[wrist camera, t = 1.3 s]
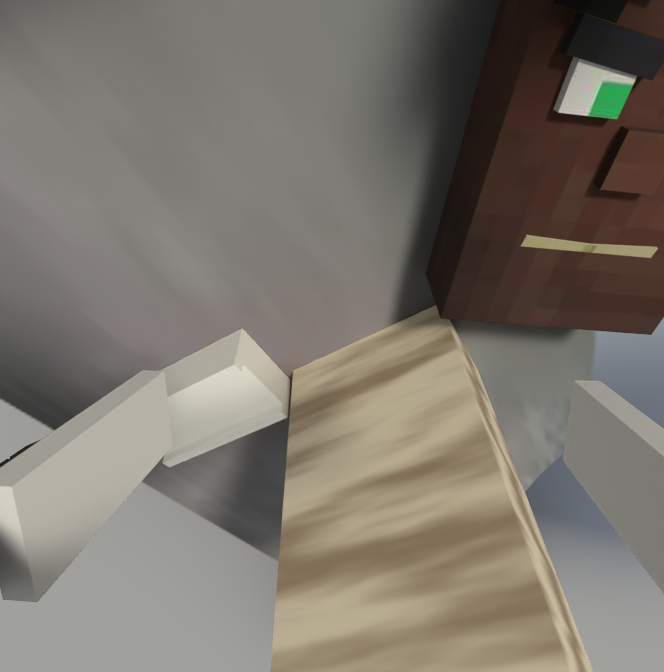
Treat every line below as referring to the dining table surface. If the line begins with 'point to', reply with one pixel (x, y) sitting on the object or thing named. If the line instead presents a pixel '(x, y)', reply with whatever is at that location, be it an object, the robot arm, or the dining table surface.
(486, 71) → the decorative book
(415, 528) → the pedestal
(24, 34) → the dining table surface
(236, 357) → the dock
